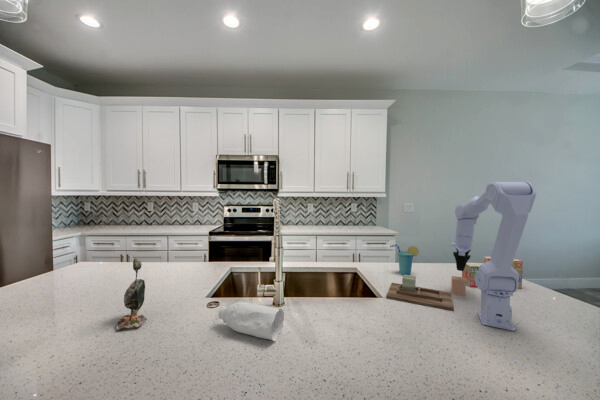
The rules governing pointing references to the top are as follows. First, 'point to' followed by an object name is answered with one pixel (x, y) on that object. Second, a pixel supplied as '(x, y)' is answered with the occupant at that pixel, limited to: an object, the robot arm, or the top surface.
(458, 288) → the terracotta block
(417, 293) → the walnut base
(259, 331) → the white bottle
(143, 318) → the plant with pod
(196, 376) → the top surface
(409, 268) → the cup
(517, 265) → the stack of blocks
